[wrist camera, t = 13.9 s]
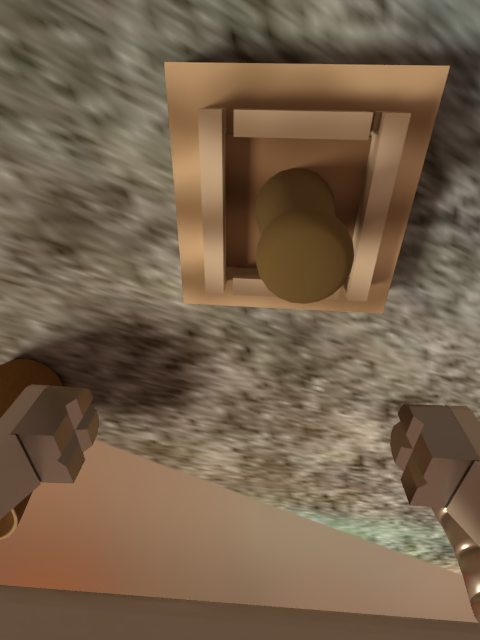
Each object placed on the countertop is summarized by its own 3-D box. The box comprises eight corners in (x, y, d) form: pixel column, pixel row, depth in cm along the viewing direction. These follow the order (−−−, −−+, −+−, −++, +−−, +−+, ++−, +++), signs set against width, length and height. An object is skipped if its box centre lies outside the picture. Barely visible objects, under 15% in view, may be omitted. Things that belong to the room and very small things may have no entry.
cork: (336, 163, 25) (375, 203, 16) (333, 245, 28) (363, 318, 19) (251, 171, 26) (240, 214, 16) (257, 250, 29) (251, 323, 20)
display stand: (177, 66, 26) (153, 58, 21) (426, 69, 25) (469, 62, 20) (192, 283, 36) (177, 317, 30) (371, 292, 35) (390, 328, 29)
